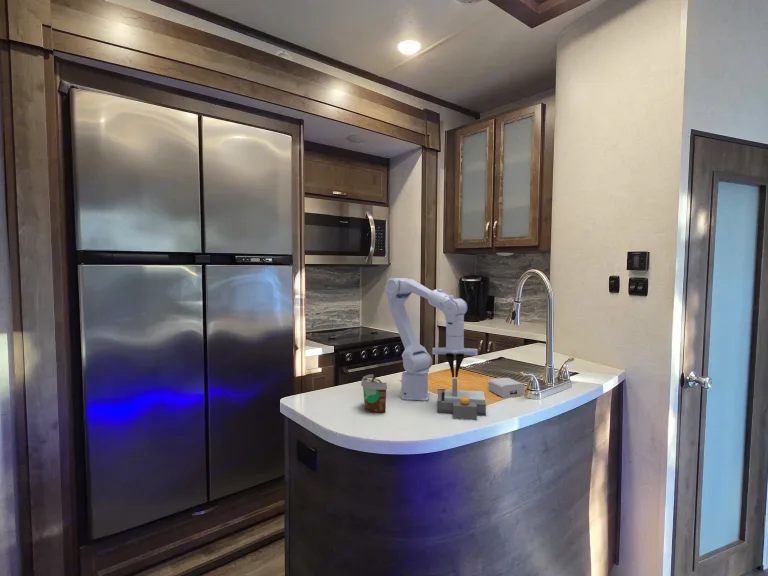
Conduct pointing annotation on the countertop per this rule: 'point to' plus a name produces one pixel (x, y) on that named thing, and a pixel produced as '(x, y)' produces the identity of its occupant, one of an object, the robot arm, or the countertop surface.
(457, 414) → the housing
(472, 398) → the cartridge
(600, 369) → the countertop surface
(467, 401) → the plunger
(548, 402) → the countertop surface
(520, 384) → the charger
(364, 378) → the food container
